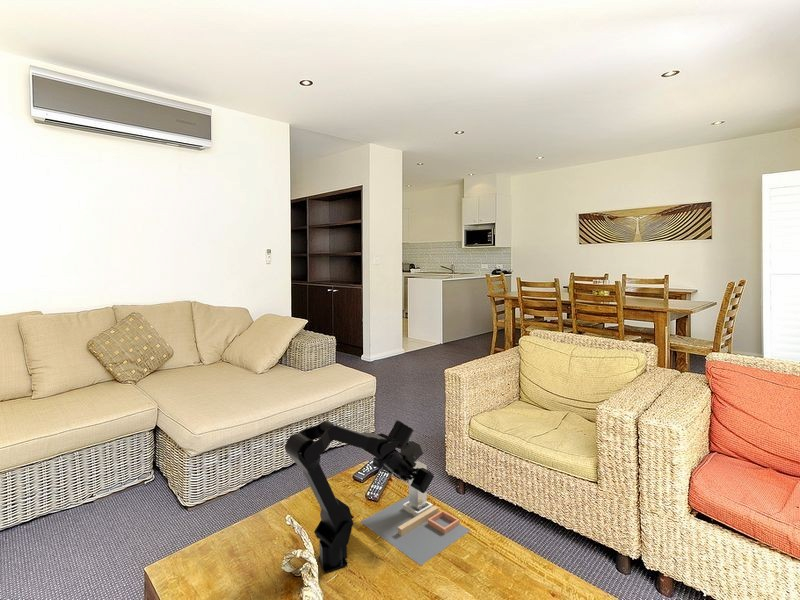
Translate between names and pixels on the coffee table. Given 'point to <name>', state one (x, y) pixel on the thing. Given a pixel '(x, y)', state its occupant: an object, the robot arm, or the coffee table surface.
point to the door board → (413, 531)
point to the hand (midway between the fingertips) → (420, 482)
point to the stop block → (416, 496)
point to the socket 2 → (444, 530)
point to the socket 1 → (407, 507)
